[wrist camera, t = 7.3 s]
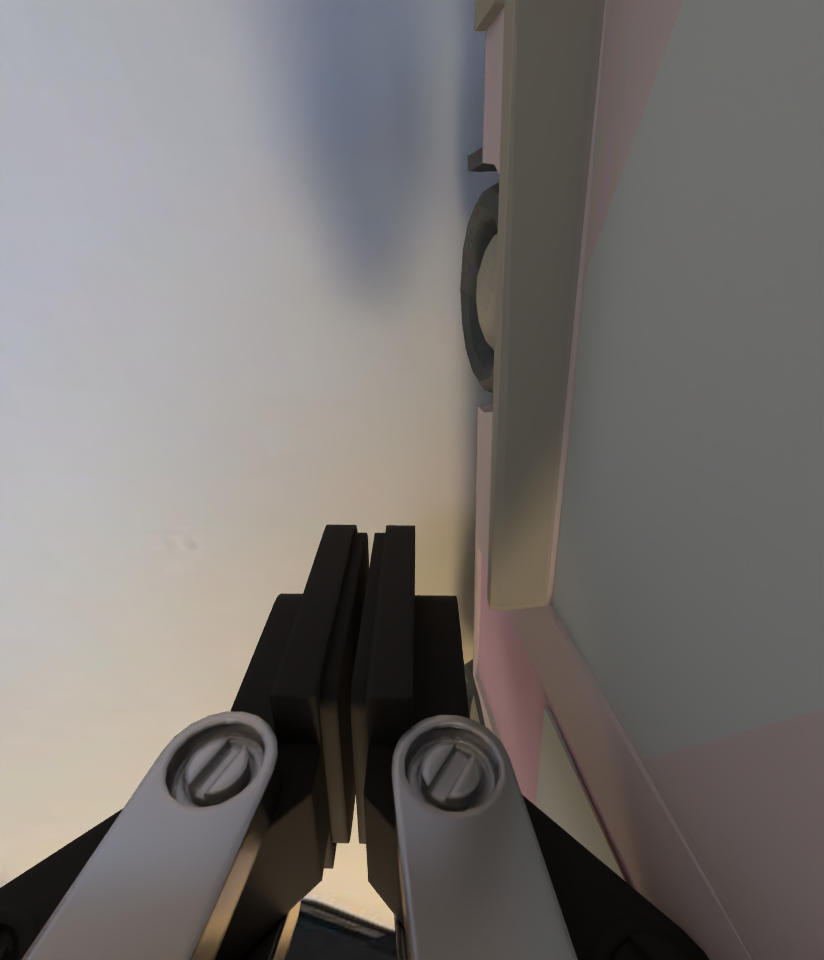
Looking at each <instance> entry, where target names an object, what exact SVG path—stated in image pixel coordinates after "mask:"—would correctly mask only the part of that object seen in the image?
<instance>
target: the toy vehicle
mask: <svg viewBox="0 0 824 960" xmlns="http://www.w3.org/2000/svg"><path fill="white" fill-rule="evenodd" d="M474 31H486V47H485V85H484V123H483V147H482V148H480V149H479V150H477V151H475V152H474V153H472V154H470V155H469V156H468V171H475V172H486V171H498V173H499V182H498V183H496V184H495V185H493V186H492V187H490V188H489V189H487V190H485V191H484V192H482V194H481V196H480V198H479V200H478V201H477V203H476V205H475V207H474V210H473V212H472V215H471V217H470V220H469V222H468V226H467V232H466V237H465V242H464V247H463V259H462V274H461V307H462V325H463V332H464V339H465V346H466V351H467V354H468V358H469V361H470V364H471V367H472V370H473V373H474V374H475V376H476V378H477V379H478V381H479V382H480V384H481V385H482V387H483V388H484V389H485V390H487V391H490V392H493V404H486V405H480V406H478V423H477V479H476V536H475V592H474V648H473V660H471V661H470V662H468V663H467V664H465V665H464V670H465V680H466V689H467V699H468V709H469V719H472V720H475V721H477V722H478V723H480V724H482V725H483V726H485V727H487V728H488V729H490V730H491V731H492V732H493V733H494V735H495V736H496V737H497V738H498V739H499V740H500V741H501V742H502V744H503V746H504V748H505V750H506V751H507V753H508V755H509V757H510V760H511V763H512V766H513V769H514V772H515V775H516V778H517V781H518V784H519V787H520V790H521V793H522V795H523V796H525V797H526V798H527V799H528V800H529V801H531V802H532V803H533V804H534V805H535V806H536V807H538V808H539V809H540V810H541V811H542V812H544V813H545V814H546V815H547V816H548V817H550V818H551V819H552V820H553V821H554V822H555V823H557V824H558V825H559V826H560V827H561V828H563V829H564V830H565V831H566V832H567V833H569V834H570V835H571V836H572V837H573V838H574V839H576V840H577V841H578V842H579V843H580V844H582V845H583V846H584V847H585V848H586V849H588V850H589V851H590V852H591V853H592V854H593V855H595V856H596V857H597V858H598V859H599V860H601V861H602V862H603V863H604V864H605V865H607V866H608V867H609V868H610V869H611V870H612V871H614V872H615V873H616V874H617V875H618V876H620V877H621V878H622V879H623V880H624V881H626V882H627V883H628V884H629V885H630V886H631V887H633V888H634V889H635V890H636V891H637V892H639V893H640V894H641V895H642V896H643V897H645V898H646V899H647V900H648V901H649V902H651V903H652V904H653V905H654V906H655V907H656V908H658V909H659V910H660V911H661V912H662V913H664V914H665V915H666V916H667V917H668V918H670V919H671V920H672V921H673V922H674V923H675V924H677V925H678V926H679V927H680V928H681V929H683V930H684V932H685V933H686V934H687V935H688V936H689V937H690V938H691V939H692V940H693V941H694V942H695V943H696V944H697V945H698V946H699V947H700V948H701V949H702V950H703V951H704V952H705V954H706V955H707V957H708V958H709V960H824V0H475V27H474Z"/></svg>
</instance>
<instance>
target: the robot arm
mask: <svg viewBox="0 0 824 960" xmlns="http://www.w3.org/2000/svg"><path fill="white" fill-rule="evenodd" d="M355 795H356V803H357V818H358V833H359V843H360V844H366V848H367V866H368V882H369V883H370V884H371V885H372V887H373V888H374V889H375V890H376V892H377V893H378V894H379V895H380V897H381V898H382V899H383V901H384V902H385V903H386V904H387V906H388V907H389V908H390V909H391V911H392V912H393V913H394V920H395V932H396V944H397V956H398V960H709V958H708V957H707V955H706V954H705V952H704V951H703V950H702V949H701V948H700V947H699V946H698V945H697V944H696V943H695V942H694V941H693V940H692V939H691V938H690V937H689V936H688V935H687V934H686V933H685V932H684V930H683V929H681V928H680V927H679V926H678V925H677V924H675V923H674V922H673V921H672V920H671V919H670V918H668V917H667V916H666V915H665V914H664V913H662V912H661V911H660V910H659V909H658V908H656V907H655V906H654V905H653V904H652V903H651V902H649V901H648V900H647V899H646V898H645V897H643V896H642V895H641V894H640V893H639V892H637V891H636V890H635V889H634V888H633V887H631V886H630V885H629V884H628V883H627V882H626V881H624V880H623V879H622V878H621V877H620V876H618V875H617V874H616V873H615V872H614V871H612V870H611V869H610V868H609V867H608V866H607V865H605V864H604V863H603V862H602V861H601V860H599V859H598V858H597V857H596V856H595V855H593V854H592V853H591V852H590V851H589V850H588V849H586V848H585V847H584V846H583V845H582V844H580V843H579V842H578V841H577V840H576V839H574V838H573V837H572V836H571V835H570V834H569V833H567V832H566V831H565V830H564V829H563V828H561V827H560V826H559V825H558V824H557V823H555V822H554V821H553V820H552V819H551V818H550V817H548V816H547V815H546V814H545V813H544V812H542V811H541V810H540V809H539V808H538V807H536V806H535V805H534V804H533V803H532V802H531V801H529V800H528V799H527V798H526V797H525V796H523V795H522V793H521V790H520V787H519V784H518V781H517V778H516V775H515V772H514V769H513V766H512V763H511V760H510V757H509V755H508V753H507V751H506V750H505V748H504V746H503V744H502V742H501V741H500V740H499V739H498V738H497V737H496V736H495V735H494V733H493V732H492V731H491V730H490V729H488V728H487V727H485V726H483V725H482V724H480V723H478V722H477V721H475V720H472V719H469V709H468V699H467V689H466V680H465V670H464V660H463V651H462V641H461V631H460V621H459V612H458V602H457V597H456V596H420V595H415V526H396V525H387V526H386V533H375V535H374V542H373V548H372V555H371V561H370V567H369V553H368V534H367V533H357V526H356V525H326V527H325V530H324V533H323V536H322V539H321V542H320V545H319V548H318V551H317V554H316V557H315V560H314V563H313V566H312V569H311V572H310V575H309V578H308V581H307V584H306V587H305V590H304V593H303V594H280V595H278V597H277V598H276V600H275V602H274V605H273V607H272V610H271V612H270V615H269V617H268V620H267V622H266V625H265V627H264V630H263V632H262V635H261V637H260V639H259V642H258V644H257V647H256V649H255V652H254V654H253V657H252V659H251V662H250V664H249V667H248V669H247V672H246V674H245V677H244V679H243V681H242V684H241V686H240V689H239V691H238V694H237V696H236V699H235V701H234V704H233V706H232V709H231V711H230V712H223V713H219V714H214V715H210V716H207V717H205V718H203V719H201V720H199V721H197V722H195V723H193V724H191V725H189V726H188V727H187V728H185V729H184V730H183V731H181V732H180V733H179V734H177V735H176V736H175V737H174V738H173V739H172V740H171V742H170V743H169V744H168V745H167V746H166V747H165V749H164V750H163V751H162V752H161V754H160V755H159V757H158V758H157V760H156V761H155V762H154V764H153V765H152V767H151V768H150V770H149V771H148V773H147V774H146V776H145V777H144V779H143V780H142V782H141V783H140V785H139V786H138V788H137V789H136V791H135V792H134V794H133V795H132V797H131V798H130V799H129V801H128V802H127V804H126V805H125V807H124V808H123V809H121V810H120V811H118V812H117V813H115V814H114V815H112V816H111V817H109V818H108V819H106V820H105V821H103V822H101V823H100V824H98V825H97V826H95V827H94V828H92V829H91V830H89V831H88V832H86V833H84V834H83V835H81V836H80V837H78V838H77V839H75V840H74V841H72V842H71V843H69V844H67V845H66V846H64V847H63V848H61V849H60V850H58V851H57V852H55V853H54V854H52V855H51V856H49V857H47V858H46V859H44V860H43V861H41V862H40V863H38V864H37V865H35V866H34V867H32V868H30V869H29V870H27V871H26V872H24V873H23V874H21V875H20V876H18V877H17V878H15V879H13V880H12V881H10V882H9V883H7V884H6V885H4V886H3V887H1V888H0V960H285V959H286V955H287V952H288V949H289V946H290V942H291V939H292V936H293V933H294V929H295V926H296V923H297V920H298V914H299V909H300V903H301V899H303V898H304V897H305V896H306V895H307V894H308V893H309V892H310V891H311V890H312V889H313V888H314V887H315V886H316V885H317V884H318V883H319V882H320V881H322V876H323V870H324V868H333V866H334V859H335V852H336V844H337V843H349V841H350V836H351V829H352V821H353V812H354V804H355Z"/></svg>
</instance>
